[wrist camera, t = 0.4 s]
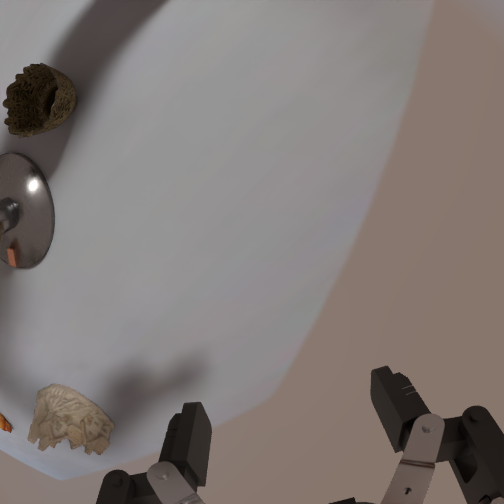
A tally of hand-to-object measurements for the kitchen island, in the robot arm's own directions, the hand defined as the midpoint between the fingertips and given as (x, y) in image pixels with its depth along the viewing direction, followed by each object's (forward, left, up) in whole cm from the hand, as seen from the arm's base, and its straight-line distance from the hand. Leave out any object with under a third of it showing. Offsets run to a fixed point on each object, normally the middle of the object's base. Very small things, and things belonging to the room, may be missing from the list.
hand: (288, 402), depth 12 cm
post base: (+1, -33, -22) cm, 40 cm away
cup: (-13, -24, -23) cm, 36 cm away
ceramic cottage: (+42, -30, -23) cm, 57 cm away
